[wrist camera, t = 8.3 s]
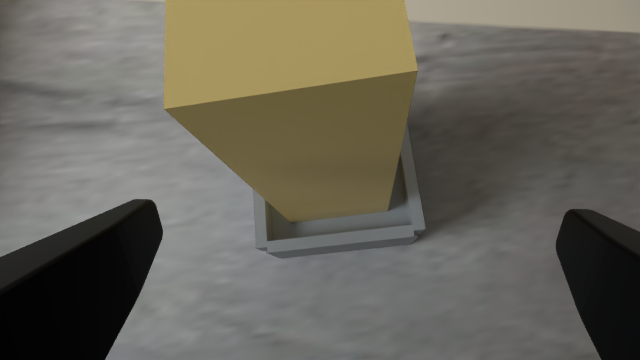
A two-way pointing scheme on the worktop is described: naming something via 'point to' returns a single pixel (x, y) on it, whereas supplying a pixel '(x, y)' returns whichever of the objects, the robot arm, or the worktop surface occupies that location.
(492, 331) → the worktop surface
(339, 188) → the mustard brick
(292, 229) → the base tray
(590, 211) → the robot arm
